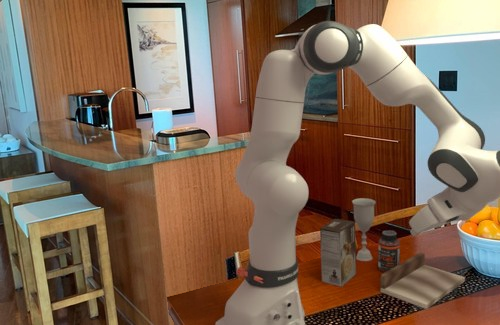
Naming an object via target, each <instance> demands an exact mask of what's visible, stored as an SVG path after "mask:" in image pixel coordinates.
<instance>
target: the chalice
mask: <svg viewBox="0 0 500 325" xmlns="http://www.w3.org/2000/svg"><path fill="white" fill-rule="evenodd" d="M351 202H352V205H353V218H354V222H355V225H357V228H358V229H359V231H361V232H362V236H361V239H362V241H361V243H360V244H361V245H362V248H361V249H359V250H358V251H357V254H356V261H357V260H358V261H361V262H370V261H372V260H373V256H372V254H371V251H370V250H369V249H368V248H366V247H367V244H368V242H367V241H366V240H367V238H368V236H367V235H366V234H367V233H366V232H368V231H369V230H370V228H371V227H372V225H373V221H374V219H375V205H376V202H377V201H376V200H374V199H371V198H364V197H362V198H355V199H353V200H351Z"/></svg>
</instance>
